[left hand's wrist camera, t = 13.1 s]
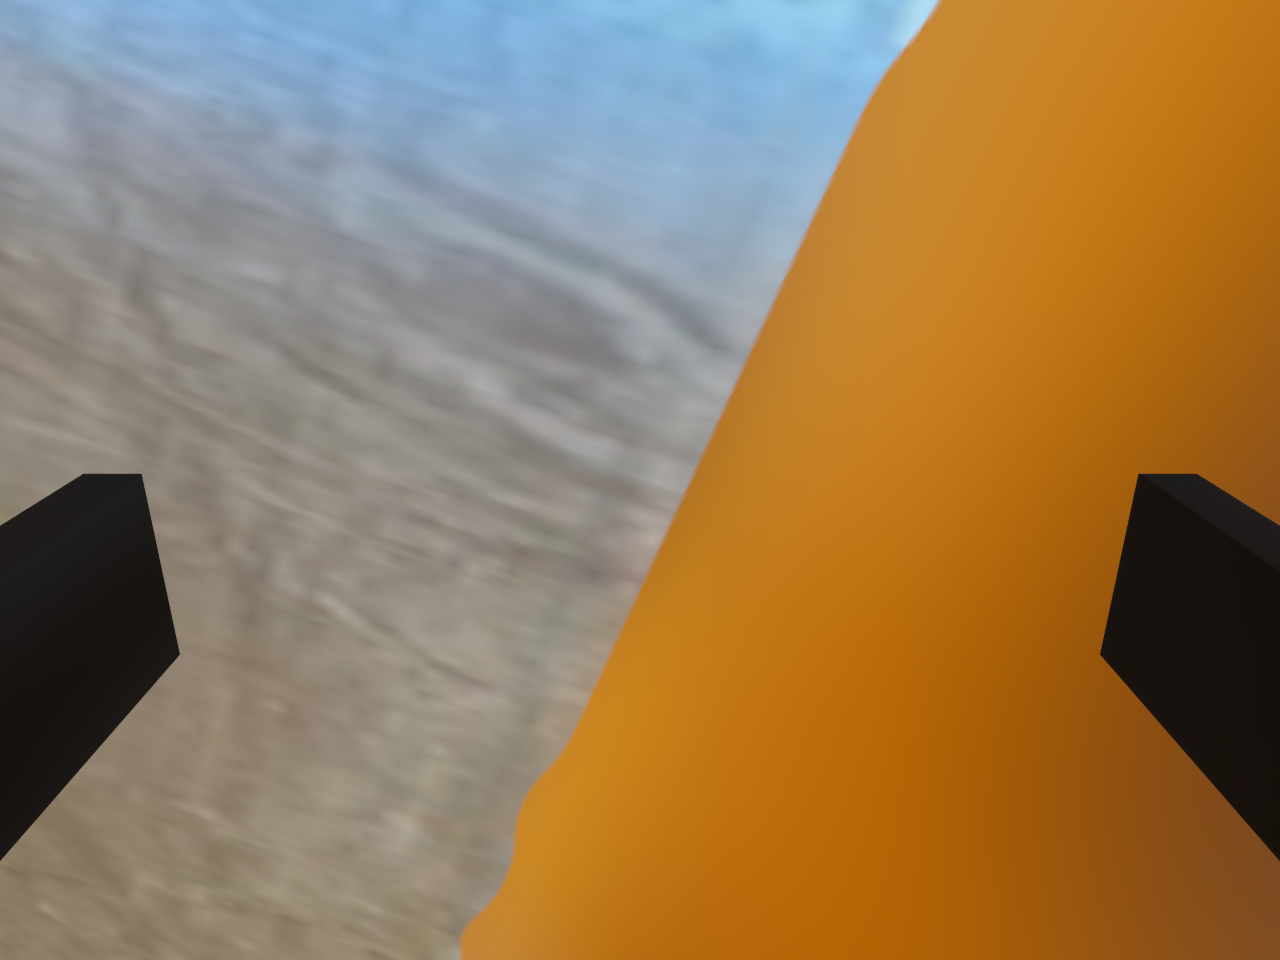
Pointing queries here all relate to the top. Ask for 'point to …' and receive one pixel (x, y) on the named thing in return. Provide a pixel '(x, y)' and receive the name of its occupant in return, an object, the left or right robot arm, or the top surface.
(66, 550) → the left robot arm
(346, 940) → the top surface
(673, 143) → the top surface
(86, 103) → the top surface
